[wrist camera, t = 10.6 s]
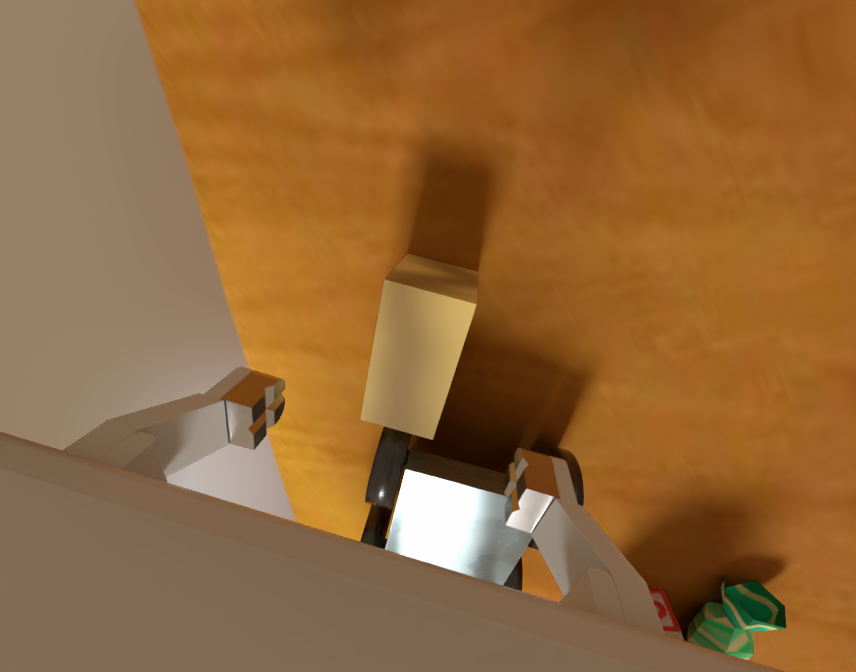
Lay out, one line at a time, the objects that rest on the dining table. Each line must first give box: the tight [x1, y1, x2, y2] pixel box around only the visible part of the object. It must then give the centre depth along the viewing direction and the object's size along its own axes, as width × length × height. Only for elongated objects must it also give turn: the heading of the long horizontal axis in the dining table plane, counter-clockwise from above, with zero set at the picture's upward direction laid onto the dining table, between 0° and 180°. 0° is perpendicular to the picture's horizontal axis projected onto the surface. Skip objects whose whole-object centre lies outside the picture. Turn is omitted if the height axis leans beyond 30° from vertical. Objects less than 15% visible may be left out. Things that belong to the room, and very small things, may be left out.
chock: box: [360, 253, 478, 440], centre depth 18 cm, size 4×8×5 cm, turn 167°
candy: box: [685, 577, 786, 660], centre depth 28 cm, size 12×3×4 cm
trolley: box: [360, 426, 584, 591], centre depth 17 cm, size 16×12×20 cm
